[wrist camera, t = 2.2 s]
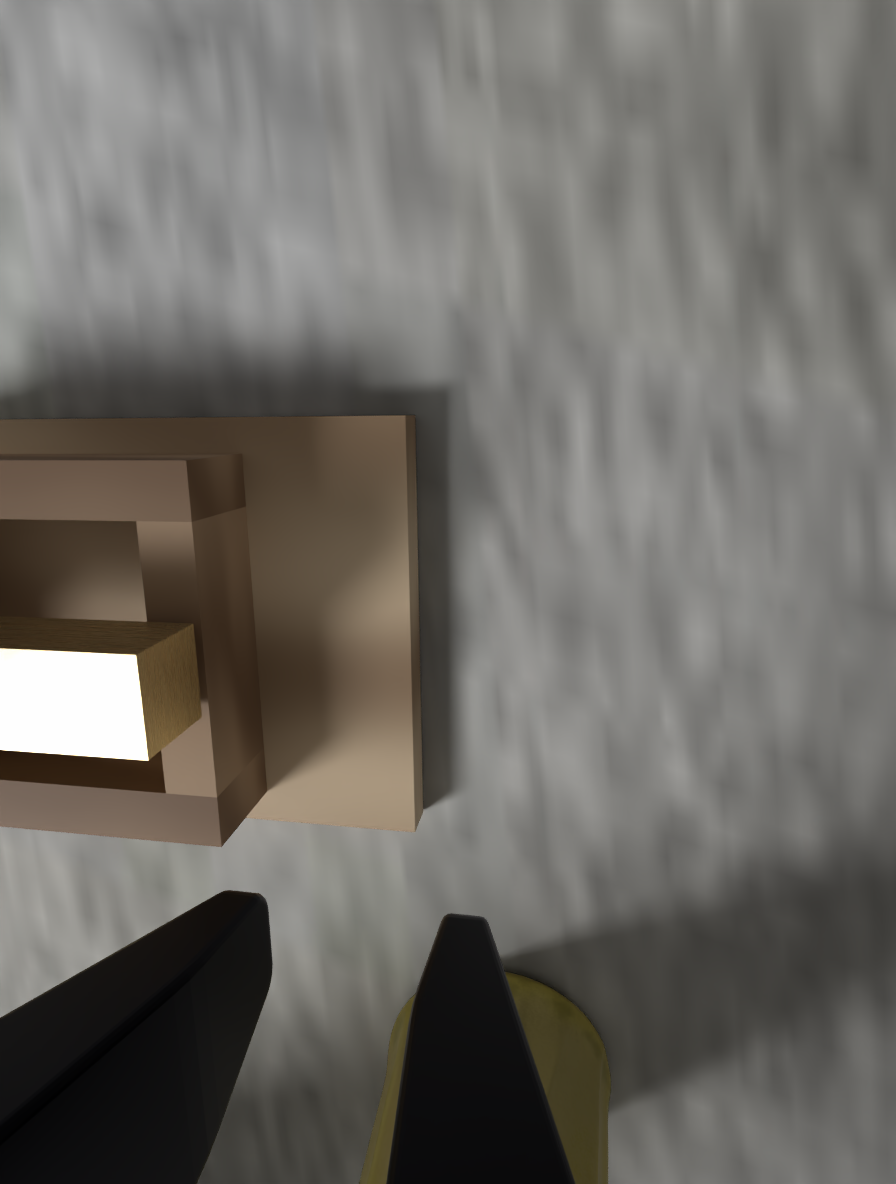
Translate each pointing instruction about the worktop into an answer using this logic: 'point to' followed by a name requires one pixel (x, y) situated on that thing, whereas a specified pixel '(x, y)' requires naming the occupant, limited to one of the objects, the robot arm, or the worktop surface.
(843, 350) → the worktop surface
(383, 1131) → the vase
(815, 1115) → the worktop surface
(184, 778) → the dock board
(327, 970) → the worktop surface
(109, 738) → the bar
